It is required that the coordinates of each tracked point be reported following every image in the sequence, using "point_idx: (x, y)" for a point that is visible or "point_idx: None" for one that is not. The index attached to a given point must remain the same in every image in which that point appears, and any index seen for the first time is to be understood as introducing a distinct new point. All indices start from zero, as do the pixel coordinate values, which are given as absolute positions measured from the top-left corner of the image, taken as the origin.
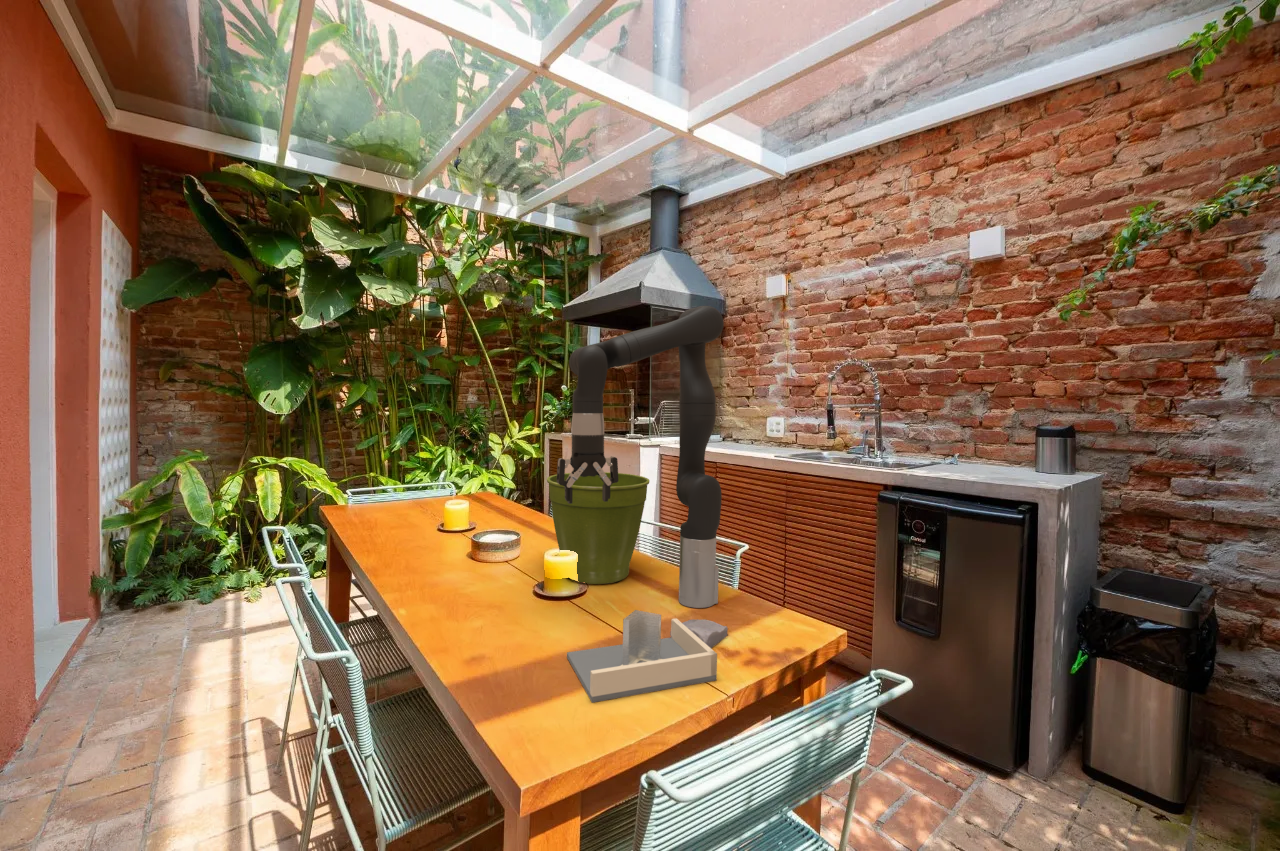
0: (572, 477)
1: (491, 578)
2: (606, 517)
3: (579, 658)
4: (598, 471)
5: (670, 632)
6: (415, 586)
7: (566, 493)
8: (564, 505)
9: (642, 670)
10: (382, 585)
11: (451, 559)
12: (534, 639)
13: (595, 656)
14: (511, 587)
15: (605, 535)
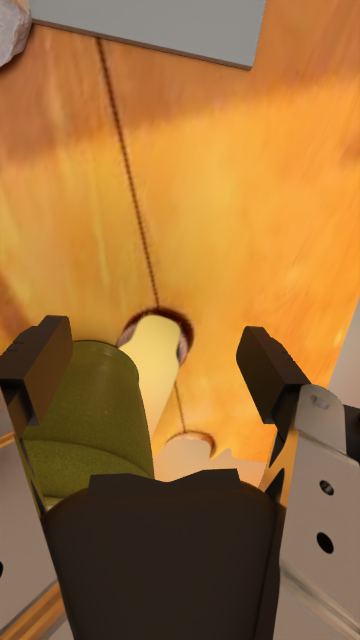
0: (347, 456)
1: (218, 394)
2: (55, 419)
3: (246, 16)
4: (26, 548)
5: (27, 21)
6: None
7: (295, 366)
8: (143, 469)
9: None
10: None
11: (233, 445)
12: (258, 183)
13: (216, 6)
14: (209, 366)
15: (70, 388)
